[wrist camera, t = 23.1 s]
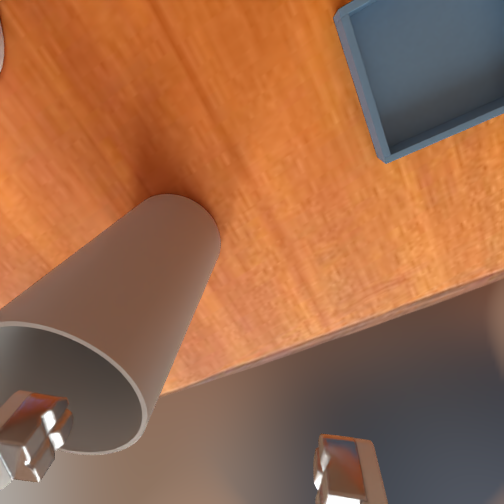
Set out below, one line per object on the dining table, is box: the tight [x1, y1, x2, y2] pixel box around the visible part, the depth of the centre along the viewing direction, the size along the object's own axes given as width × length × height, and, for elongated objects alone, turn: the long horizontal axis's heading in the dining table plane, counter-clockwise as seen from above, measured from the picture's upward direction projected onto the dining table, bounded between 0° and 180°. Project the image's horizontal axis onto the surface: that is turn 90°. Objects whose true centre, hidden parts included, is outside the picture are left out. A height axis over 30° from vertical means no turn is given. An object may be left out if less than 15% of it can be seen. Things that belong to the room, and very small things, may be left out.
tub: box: [333, 0, 504, 164], centre depth 29 cm, size 14×14×3 cm
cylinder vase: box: [0, 194, 221, 455], centre depth 31 cm, size 12×12×25 cm
